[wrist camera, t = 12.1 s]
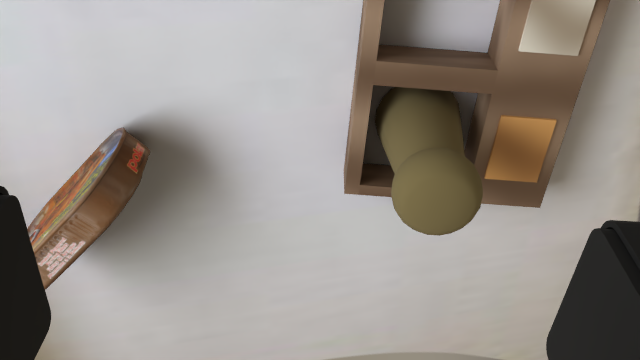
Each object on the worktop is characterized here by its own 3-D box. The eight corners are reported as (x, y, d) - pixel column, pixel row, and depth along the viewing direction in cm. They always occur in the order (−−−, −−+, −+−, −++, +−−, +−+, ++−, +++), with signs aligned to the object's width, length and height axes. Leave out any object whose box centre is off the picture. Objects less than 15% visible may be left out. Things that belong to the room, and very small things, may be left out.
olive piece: (473, 89, 41) (513, 175, 32) (443, 162, 44) (473, 259, 35) (388, 70, 40) (404, 152, 31) (365, 146, 44) (373, 241, 34)
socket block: (374, -96, 35) (377, -87, 32) (610, -76, 35) (633, -65, 32) (343, 171, 45) (344, 195, 42) (528, 184, 45) (540, 209, 42)
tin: (134, 107, 42) (95, 170, 35) (170, 135, 44) (138, 202, 36) (25, 225, 48) (-28, 300, 41) (59, 247, 49) (13, 323, 42)
